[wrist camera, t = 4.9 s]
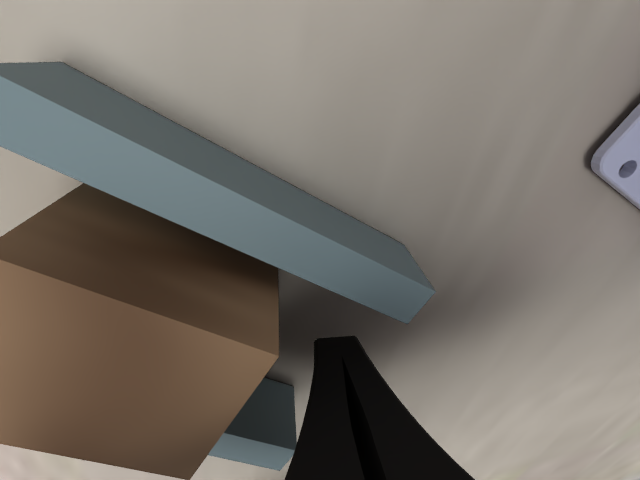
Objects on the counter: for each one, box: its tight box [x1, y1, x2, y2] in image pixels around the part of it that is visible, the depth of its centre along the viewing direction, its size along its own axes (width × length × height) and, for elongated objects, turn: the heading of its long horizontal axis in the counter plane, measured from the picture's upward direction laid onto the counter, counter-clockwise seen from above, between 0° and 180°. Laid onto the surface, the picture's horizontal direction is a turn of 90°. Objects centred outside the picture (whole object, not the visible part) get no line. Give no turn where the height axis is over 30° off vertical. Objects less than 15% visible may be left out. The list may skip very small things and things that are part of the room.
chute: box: [0, 62, 436, 471], centre depth 10 cm, size 10×8×2 cm
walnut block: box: [0, 183, 279, 480], centre depth 9 cm, size 5×4×4 cm
